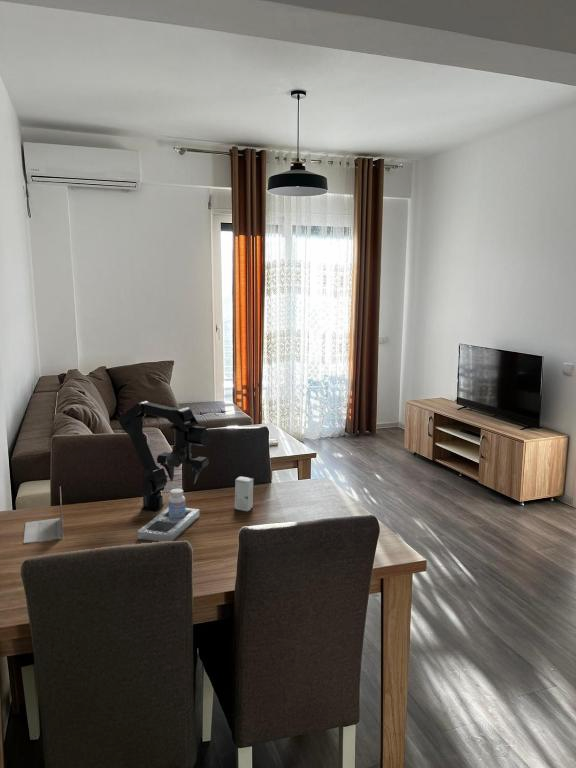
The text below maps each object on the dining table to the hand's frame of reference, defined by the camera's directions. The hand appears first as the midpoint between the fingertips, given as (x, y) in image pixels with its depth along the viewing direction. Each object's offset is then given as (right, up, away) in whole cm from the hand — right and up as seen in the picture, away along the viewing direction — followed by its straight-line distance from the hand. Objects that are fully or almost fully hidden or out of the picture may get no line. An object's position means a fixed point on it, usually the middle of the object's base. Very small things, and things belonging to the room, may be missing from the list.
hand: (182, 482), depth 217 cm
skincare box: (+22, -12, +10) cm, 27 cm away
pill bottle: (-1, -13, -4) cm, 14 cm away
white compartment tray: (-3, -15, -9) cm, 18 cm away
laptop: (-46, -15, -13) cm, 50 cm away
